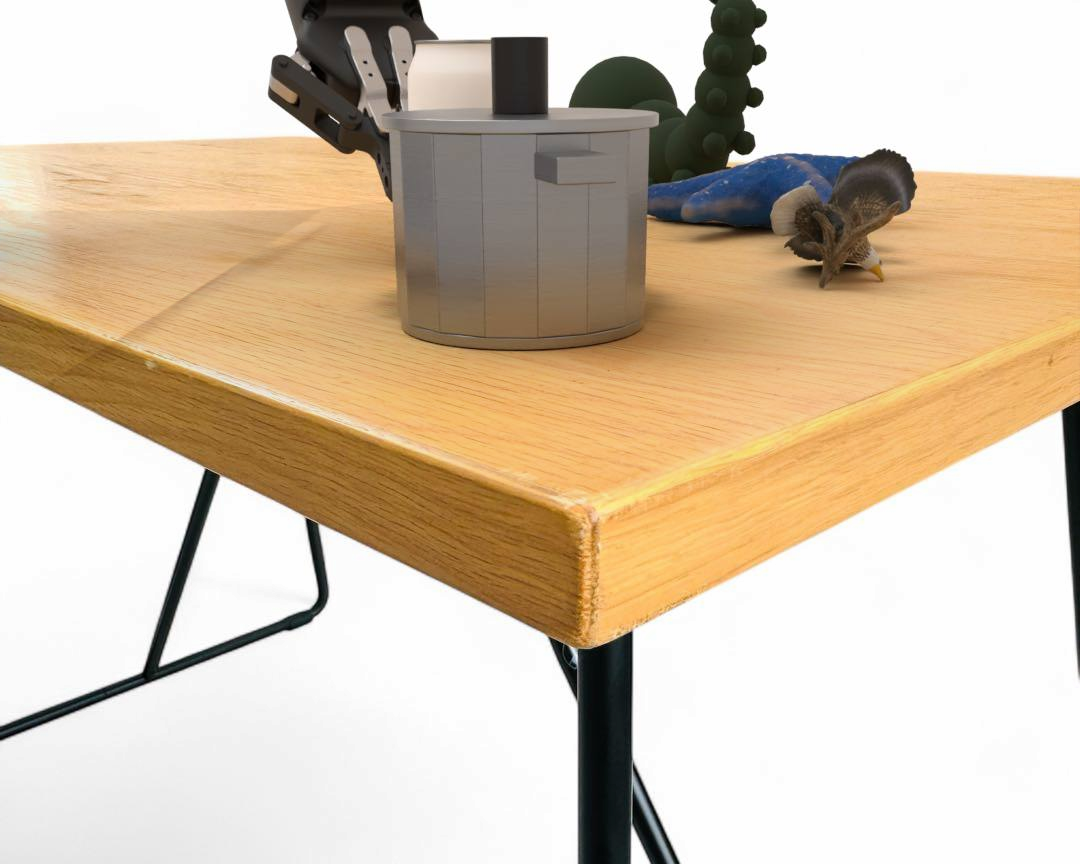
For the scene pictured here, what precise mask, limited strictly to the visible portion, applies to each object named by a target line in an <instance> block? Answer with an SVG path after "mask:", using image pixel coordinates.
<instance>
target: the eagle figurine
mask: <svg viewBox="0 0 1080 864" xmlns="http://www.w3.org/2000/svg"><path fill="white" fill-rule="evenodd" d="M911 167H912V165H911V163H909V162H908V158H907V157H906V156H904V155H902V154H901V153H900V152H899V153H898V152H897V151H895V150H892V149H890V148H888V149H887V148H886V147H884V148H877V149H876V150H874V151H873V152H872V153H869V154H866V155H865V156H863V157H862V156H861V158H859V159H856V160H855V161H854V162H852V163H849V164H847V165H844V166H842V167H841V170H840V173H839V175H838V179H837V180H836V184H835V186H834V189H833V191H832V193H831V198H830V199H829V202H828V203H827V204H826V205H824V204H822V203H821V200H820V198H819V196H818V194H817V192H816V190H815V188H814V187H813V186H812V185H806V186H800V187H798V188H796V189H793V190H792V191H790V192H788V193H786V194H784V195H783V196H781V197H780V198H779V199H778V200H777V201H776V202H775V203H774V205H773V210H772V212H771V215H770V218H771V222H772V227H771V229H772V231H773V233H774V234H775V235H776V236H777V237H788V236H792V235H793V237H791V238H790V239H789V240H788V241H786V242H785V244H784V246H783V248H790V251H793V255H794V256H796V257H797V258H801V259H803V260H806V261H816V262H817V263H820V262H822V270H821V274H820V277H819V281H818V287H819V289H821V290H823V289H825V288H826V286H827V285H828V284H829V283H830V282H831V281H832V280H833V278H834V277H835V276H837V275H839V273H840V269H841V268H844V265H845V264H851V265H860V266H861V267H862V268H863V269H864V270H865V271H867V272H868V273H872V274H873V275H875V276H876V277H877V278H878V279H879V280H880V281H885V278H886V277H885V275H884V273H883V270H882V267H883V261H882V259H881V258H880V256H879V255H878V253H877V252H876V250H875V249H874V247H873V245H871V243H870V240H869V238H868V235H870V234H871V233H873V232H875V231H877V230H880V229H881V228H883V227H884V226H886V225H887V224H889V223H890V222H892V220H893V218H894V217H897V216H900V215H902V214H905V213H907V212H908V211H909V210H911V207H912V201H913V200H914V199H915V195H916V190H917V189H918V185H917V182H916V181H915V172H914V171H913V169H912V170H911Z"/></svg>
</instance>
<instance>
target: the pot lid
mask: <svg viewBox="0 0 1080 864" xmlns="http://www.w3.org/2000/svg"><path fill="white" fill-rule="evenodd" d="M490 40H491V75H492V108H463V109H433V110H414V111H400V112H391V113H385V114H382V127H383V128H385V129H390V130H398V131H410V132H429V133H463V134H550V133H587V132H609V131H625V130H637V129H646V128H652V127H656V126H658V124H659V113H657V112H653V111H645V110H632V109H608V108H568V107H549V37H548V36H492V37H490Z"/></svg>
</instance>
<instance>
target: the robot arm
mask: <svg viewBox="0 0 1080 864" xmlns="http://www.w3.org/2000/svg"><path fill="white" fill-rule="evenodd" d="M284 2H285V3H284V4H285V6H286V9H287V12H288V16H289V18H290V22H291V25H292V29H293V32H294V35H295V39H296V48H295V51H294V54H292V55H291V56H288V55H286V54H277V55H274V56H273V57H272V59H271V66H270V74H269V81H268V87H267V89H268V90H267V96H268V98H269V100H270V101H272V102H273V103H274V104H276V105H277V106H278V107H280V108H281V109H282V110H283V111H285V112H286V113H288V114H289V116H292V117H293V118H294V119H296V121H298V122H299V123H300V124H302V125H303V126H305V127H306V128H307V129H309V130H310V131H311V132H313V133H314V134H315V135H317V136H318V137H319V138H321V140H323V141H324V142H326V143H328V144H329V145H330V146H331V147H333V148H334V149H335V150H337V151H338V152H339V153H341V154H344V155H352V154H354V153H355V152H356V151H358V152H362V153H366V154H368V155H369V157H370V158H371V159H372V160H373V161H374V162H375V166H376V170H377V172H378V175H379V178H380V181H381V185H382V186H383V187H382V188H383V191H384V194H385V196H386V197H387V199H388V200H389V201H390V202H391V203H393V197H392V177H391V156H390V136H389V129H385V128H383V127H382V114H385V113H391V112H400V111H408V71H409V68H410V65H411V63H412V60H413V58H414V55H415V51H416V44H414V41H415V40H440V38H439V37H438V35H437V34H436V33H435V32H434V31H433V30H432V28H430V27H429V26H428V24H427V23H426V21H425V18H424V14H423V10H422V9H423V8H422V4H421V0H284Z"/></svg>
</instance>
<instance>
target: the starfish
mask: <svg viewBox="0 0 1080 864" xmlns="http://www.w3.org/2000/svg"><path fill="white" fill-rule="evenodd" d="M859 158H862V156H856V155H853V156H843V155H827V154H812V153H805V152H804V153H796V152H785V153H775V154H770V155H764V156H763V157H759V158H756V159H754V160H752V161H749V162H747V163H743V164H737V165H735V166H733V167H731V168H730V169H728V170H720V171H716V172H714V173H709V174H703V175H700V176H697V177H694V178H690V179H687V180H682V181H679V182H670V183H659V184H653V185H651V186H649V187H648V202H647V216H650V217H655V218H656V219H658V220H665V221H672V222H686V223H693V224H695V223H708V222H710V223H711V222H715V223H716V222H717V223H723V224H726V225H729V226H733V227H736V228H739V227H749V226H750V227H758V228H772V222H771V218H770V215H771V212H772V210H773V205H774V203H775V202H776V201H777V200H778V199H779V198H780V197H781V196H783V195H784V194H786V193H788V192H790V191H792V190H793V189H796V188H798V187H800V186H806V185H812V186H813V187H814V188H815V190H816V192H817V194H818V196H819V198H820V200H821V203H822V204H824V205H826V204H827V203H828V202H829V199H830V198H831V193H832V191H833V189H834V186H835V184H836V180H837V179H838V175H839V173H840V170H841V167H842V166H844V165H847V164H849V163H852V162H854V161H855V160H856V159H859ZM911 170H912V171H913V168H912V166H911Z"/></svg>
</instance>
